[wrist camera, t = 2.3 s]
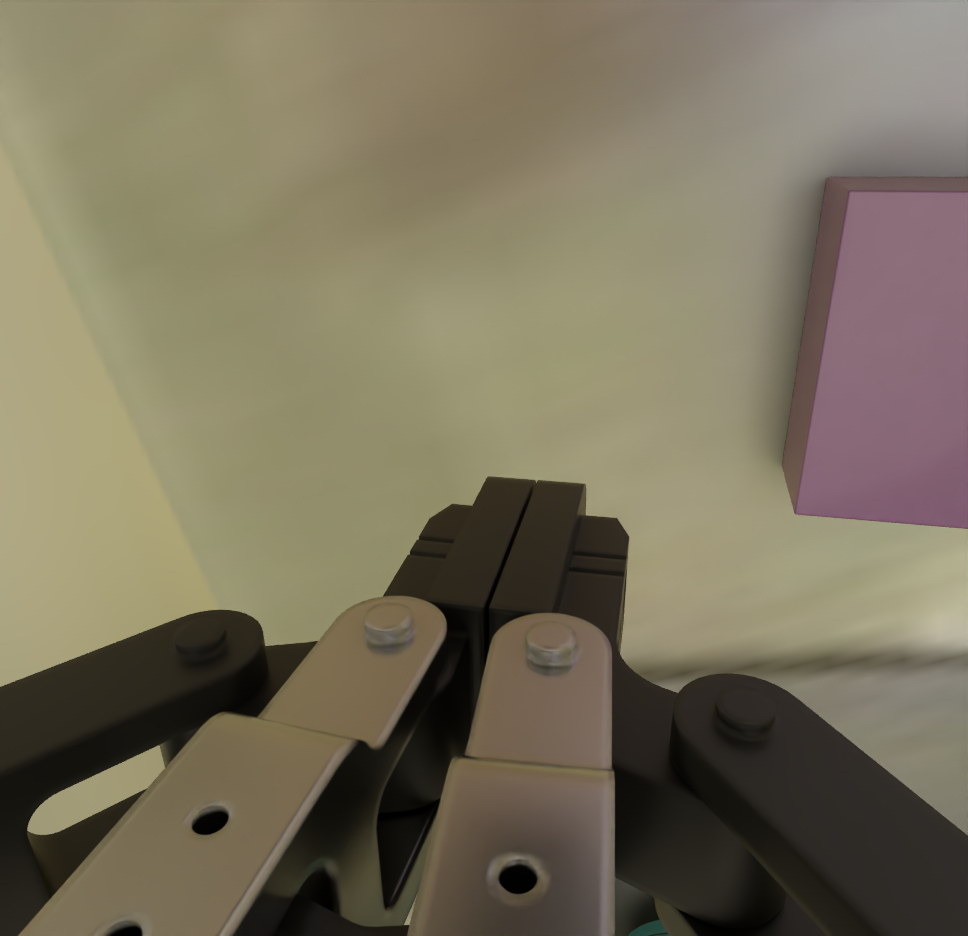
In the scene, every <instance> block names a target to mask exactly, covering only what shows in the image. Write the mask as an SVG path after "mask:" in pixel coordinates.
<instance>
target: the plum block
mask: <svg viewBox="0 0 968 936" xmlns="http://www.w3.org/2000/svg"><path fill="white" fill-rule="evenodd" d="M782 468H783V472H784V476H785V479H786V483H787V487H788V491H789V494H790V498H791V502H792V506H793V509H794V513H795V514H798V515H810V516H822V517H834V518H846V519H858V520H869V521H881V522H893V523H905V524H917V525H929V526H941V527H953V528H965V529H968V177H827V179H826V185H825V191H824V197H823V204H822V210H821V217H820V223H819V230H818V236H817V243H816V249H815V256H814V262H813V268H812V275H811V281H810V288H809V294H808V301H807V307H806V314H805V320H804V326H803V333H802V339H801V346H800V352H799V359H798V365H797V372H796V378H795V385H794V391H793V397H792V404H791V410H790V417H789V423H788V430H787V436H786V443H785V449H784V455H783V462H782Z"/></svg>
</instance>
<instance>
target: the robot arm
mask: <svg viewBox="0 0 968 936" xmlns="http://www.w3.org/2000/svg"><path fill="white" fill-rule="evenodd" d="M628 545H629V536H628V534H627V533H626V531H625V530H624V528H623V527H622V525H621V524H620V522H619V521H618V519H617V518H609V517H597V516H586V485H585V484H580V483H568V482H555V481H542V480H538V481H537V483H536V481H535V480H528V479H515V478H502V477H487V479H486V481H485V482H484V484H483V486H482V488H481V490H480V492H479V494H478V496H477V498H476V500H475V502H474V504H473V506H469V505H457V504H451V505H450V506H448V507H447V508H445V509H444V510H442V511H441V512H439V513H438V514H436V515H434V516H433V517H431V518H430V519H429V521H428V522H427V524H426V526H425V527H424V529H423V531H422V532H421V534H420V536H419V540H417V541H416V542H415V544H414V546H413V547H412V549H411V551H410V555H408V556H407V557H406V559H405V561H404V562H403V564H402V565H401V567H400V569H399V570H398V572H397V574H396V575H395V577H394V579H393V580H392V582H391V584H390V585H389V587H388V589H387V590H386V592H385V594H384V595H383V597H378V598H373V599H369V600H366V601H363V602H360V603H358V604H356V605H354V606H352V607H350V608H348V609H347V610H346V611H344V612H343V613H342V614H341V615H340V616H339V617H338V618H337V619H336V620H335V621H334V622H333V624H332V625H331V626H330V627H329V629H328V630H327V631H326V632H325V634H324V635H323V636H322V637H321V639H320V640H319V641H314V642H307V643H296V644H285V645H274V646H265V642H264V636H263V630H262V627H261V625H260V624H259V623H258V621H257V620H255V619H254V618H253V617H251V616H249V615H247V614H245V613H241V612H238V611H231V610H210V611H204V612H198V613H194V614H190V615H187V616H184V617H181V618H179V619H176V620H173V621H170V622H168V623H165V624H163V625H160V626H157V627H155V628H152V629H150V630H147V631H144V632H142V633H139V634H137V635H134V636H131V637H129V638H126V639H124V640H121V641H118V642H116V643H113V644H111V645H108V646H105V647H103V648H100V649H98V650H95V651H92V652H90V653H87V654H85V655H82V656H80V657H77V658H74V659H72V660H69V661H67V662H64V663H62V664H59V665H56V666H54V667H51V668H49V669H46V670H43V671H41V672H38V673H35V674H33V675H30V676H28V677H25V678H23V679H20V680H17V681H15V682H12V683H10V684H7V685H4V686H2V687H0V936H615V877H616V878H618V879H620V880H622V881H624V882H626V883H628V884H629V885H631V886H633V887H635V888H637V889H639V890H641V891H643V892H645V893H647V894H649V895H651V896H653V897H655V907H656V911H657V914H658V917H659V919H660V921H661V923H662V925H663V927H664V928H665V930H666V931H667V933H668V934H669V936H968V836H967V835H966V834H965V833H964V832H962V831H961V830H960V829H959V828H957V827H956V826H955V825H954V824H952V823H951V822H950V821H949V820H948V819H946V818H945V817H944V816H943V815H941V814H940V813H939V812H938V811H936V810H935V809H934V808H933V807H931V806H930V805H929V804H928V803H926V802H925V801H924V800H923V799H921V798H920V797H919V796H918V795H916V794H915V793H914V792H913V791H911V790H910V789H909V788H908V787H907V786H905V785H904V784H903V783H902V782H900V781H899V780H898V779H897V778H895V777H894V776H893V775H892V774H890V773H889V772H888V771H887V770H885V769H884V768H883V767H882V766H880V765H879V764H878V763H877V762H875V761H874V760H873V759H872V758H870V757H869V756H868V755H867V754H866V753H864V752H863V751H862V750H861V749H859V748H858V747H857V746H856V745H854V744H853V743H852V742H851V741H849V740H848V739H847V738H846V737H844V736H843V735H842V734H841V733H839V732H838V731H837V730H836V729H834V728H833V727H832V726H831V725H830V724H828V723H827V722H826V721H825V720H823V719H822V718H821V717H820V716H818V715H817V714H816V713H815V712H813V711H812V710H811V709H810V708H808V707H807V706H806V705H805V704H803V703H802V702H801V701H800V700H798V699H797V698H796V697H795V696H793V695H792V694H790V693H789V692H788V691H786V690H784V689H782V688H780V687H779V686H777V685H775V684H772V683H770V682H767V681H765V680H762V679H758V678H755V677H751V676H746V675H740V674H715V675H708V676H704V677H701V678H698V679H696V680H694V681H692V682H690V683H688V684H687V685H686V686H684V687H683V688H682V689H681V690H680V692H679V693H676V692H673V691H670V690H668V689H665V688H662V687H660V686H658V685H655V684H653V683H651V682H649V681H647V680H646V679H644V678H642V677H641V676H639V675H638V674H637V673H635V672H634V671H633V670H632V669H631V668H630V667H629V666H628V665H627V664H626V663H625V662H624V660H623V659H622V657H621V655H620V649H621V640H622V631H623V622H624V607H625V591H626V576H627V561H628ZM158 745H160V748H161V752H162V757H163V761H164V765H165V769H164V770H163V771H162V772H161V774H160V775H159V776H158V777H157V778H156V779H155V780H154V781H153V783H152V784H151V785H150V786H149V787H148V788H147V789H145V790H143V791H141V792H139V793H137V794H135V795H133V796H131V797H129V798H127V799H125V800H123V801H121V802H119V803H117V804H115V805H113V806H111V807H109V808H107V809H105V810H103V811H101V812H99V813H96V814H95V815H92V816H91V817H88V818H86V819H84V820H82V821H80V822H78V823H76V824H74V825H72V826H70V827H68V828H66V829H64V830H62V831H60V832H57V833H54V834H49V835H35V834H33V833H30V832H28V831H27V827H28V823H29V820H30V818H31V816H32V814H33V813H34V812H35V810H36V809H37V808H38V807H39V806H40V805H41V804H42V803H43V802H44V801H45V800H47V799H48V798H49V797H51V796H52V795H54V794H56V793H58V792H60V791H62V790H64V789H66V788H68V787H70V786H73V785H74V784H77V783H79V782H81V781H83V780H85V779H87V778H90V777H92V776H94V775H96V774H98V773H100V772H102V771H104V770H107V769H108V768H111V767H113V766H115V765H117V764H119V763H122V762H124V761H126V760H128V759H130V758H132V757H134V756H136V755H139V754H141V753H143V752H145V751H147V750H149V749H151V748H154V747H156V746H158ZM416 895H417V897H416ZM415 897H416V901H415V905H414V909H413V913H412V917H411V921H410V925H404V923H405V921H406V919H407V916H408V914H409V912H410V909H411V907H412V904H413V902H414V900H415Z"/></svg>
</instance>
